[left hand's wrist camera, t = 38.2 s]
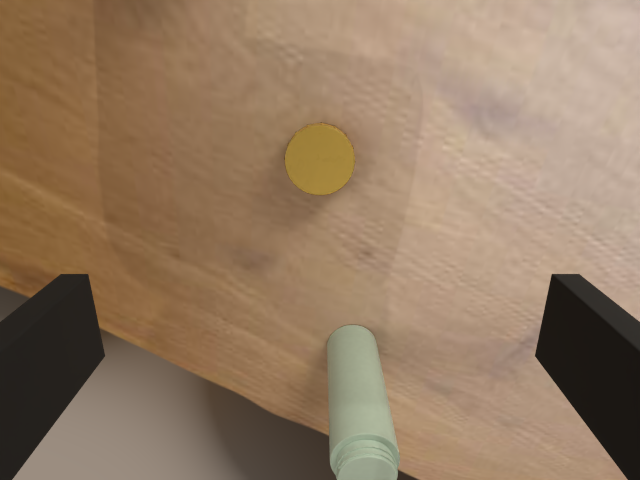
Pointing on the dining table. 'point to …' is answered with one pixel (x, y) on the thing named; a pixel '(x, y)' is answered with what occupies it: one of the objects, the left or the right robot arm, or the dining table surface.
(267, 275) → the dining table surface
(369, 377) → the jar
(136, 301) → the dining table surface
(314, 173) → the lid
